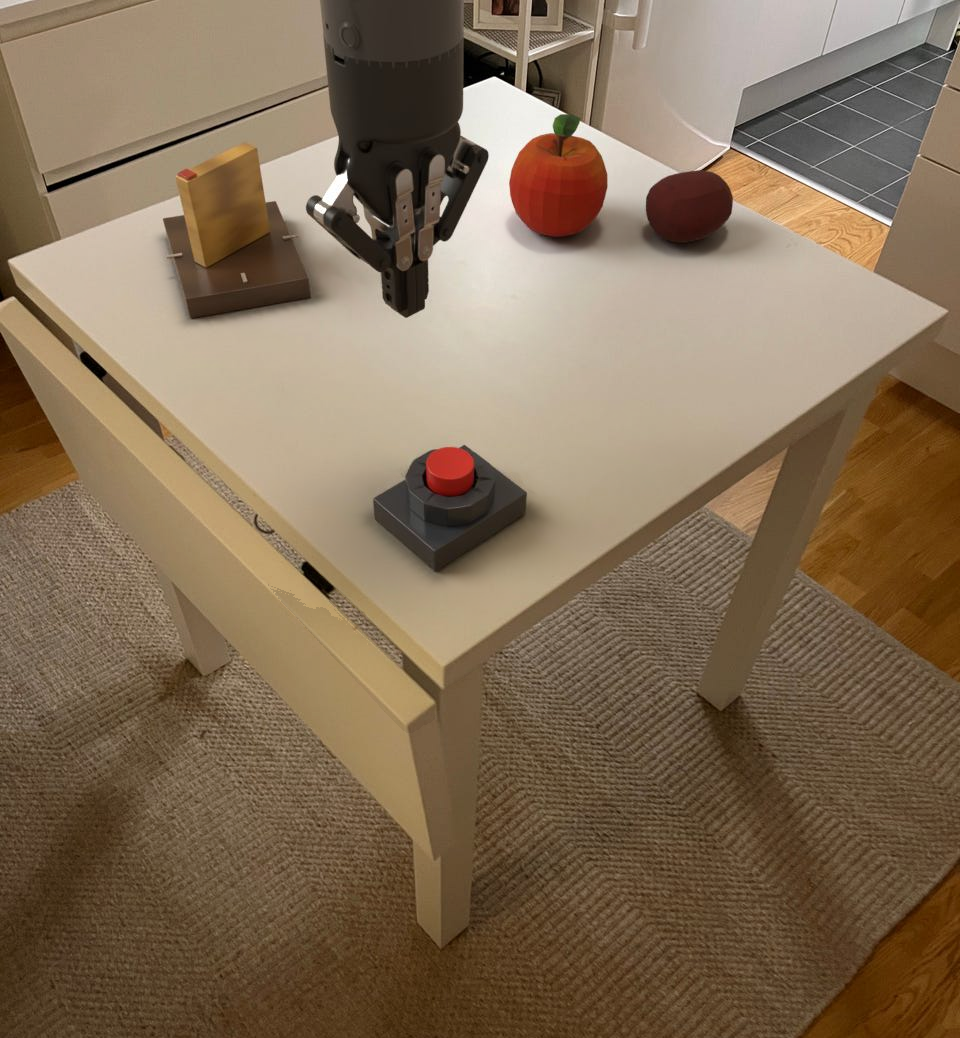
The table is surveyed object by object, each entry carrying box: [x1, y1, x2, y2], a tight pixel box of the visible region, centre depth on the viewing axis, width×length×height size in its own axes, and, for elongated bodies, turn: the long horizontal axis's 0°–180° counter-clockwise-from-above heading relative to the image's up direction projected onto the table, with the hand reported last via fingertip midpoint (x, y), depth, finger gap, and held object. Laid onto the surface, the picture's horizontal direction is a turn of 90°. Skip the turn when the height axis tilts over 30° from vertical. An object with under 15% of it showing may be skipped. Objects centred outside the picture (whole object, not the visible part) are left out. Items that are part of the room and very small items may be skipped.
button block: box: [372, 444, 528, 572], centre depth 73 cm, size 9×7×4 cm
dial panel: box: [162, 200, 311, 319], centre depth 93 cm, size 14×12×2 cm
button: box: [426, 446, 474, 497], centre depth 71 cm, size 3×3×2 cm
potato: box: [645, 169, 734, 243], centre depth 97 cm, size 8×9×6 cm
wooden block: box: [175, 141, 270, 268], centre depth 89 cm, size 8×2×8 cm, turn 141°
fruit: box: [508, 113, 609, 238], centre depth 96 cm, size 10×10×10 cm
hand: (406, 308), depth 67 cm, fingers closed
